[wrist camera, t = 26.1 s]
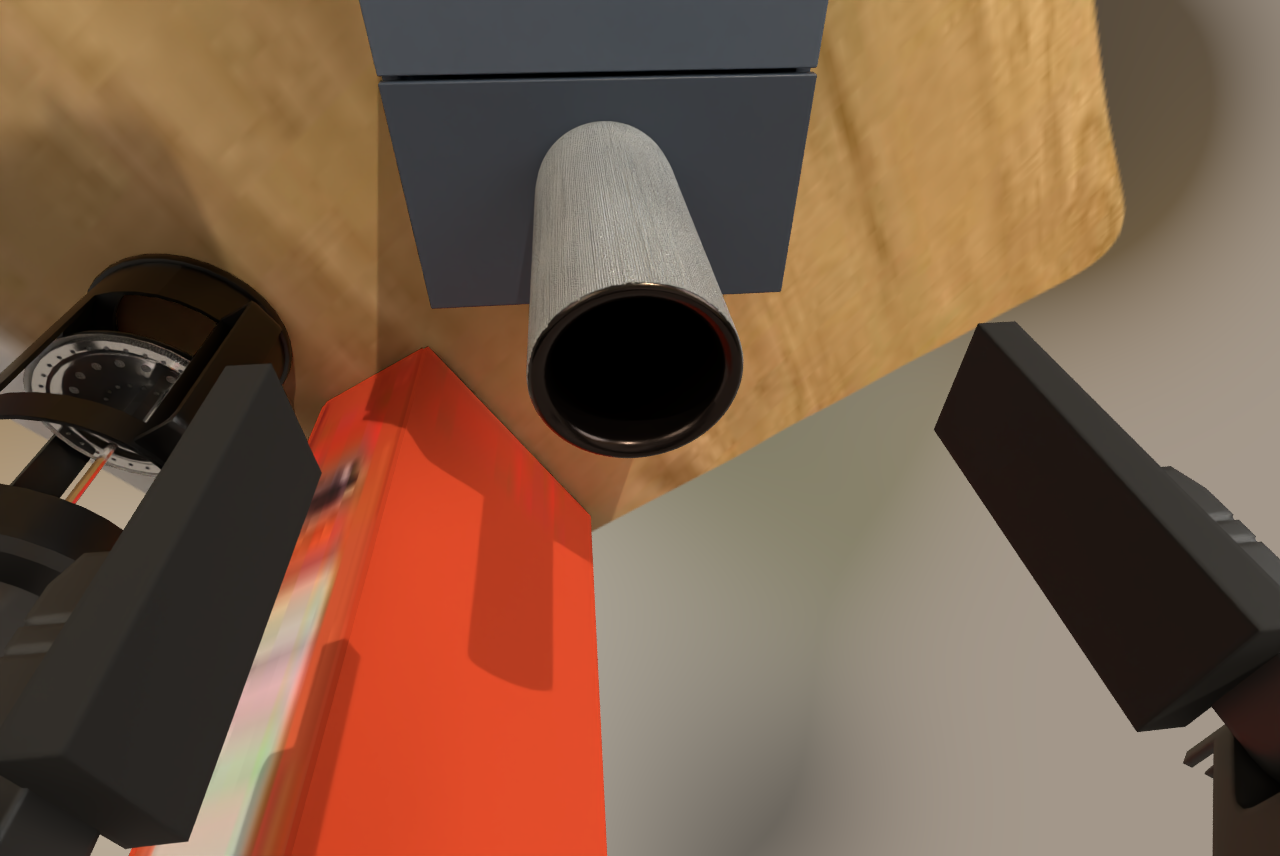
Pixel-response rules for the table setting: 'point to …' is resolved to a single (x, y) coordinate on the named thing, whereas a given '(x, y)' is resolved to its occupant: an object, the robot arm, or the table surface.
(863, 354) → the table surface
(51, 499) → the french press
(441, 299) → the carton
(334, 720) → the file binder
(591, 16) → the flap
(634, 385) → the gray hollow cylinder
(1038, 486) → the robot arm
